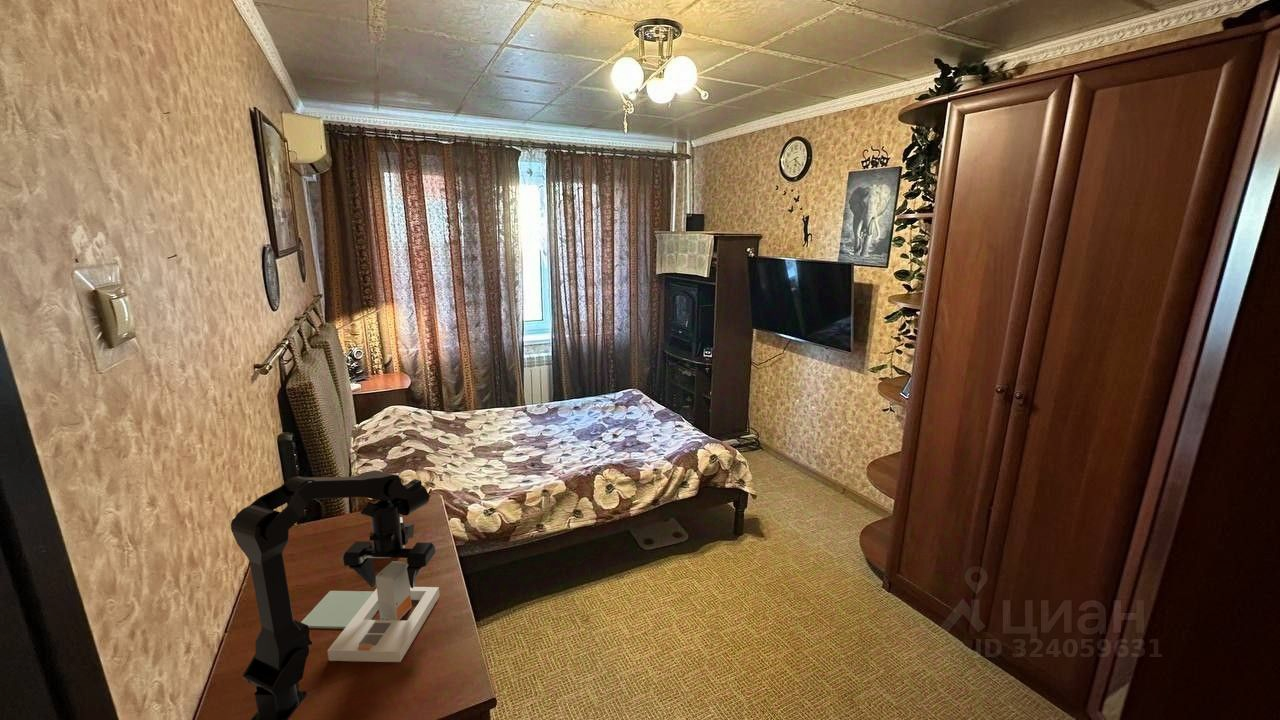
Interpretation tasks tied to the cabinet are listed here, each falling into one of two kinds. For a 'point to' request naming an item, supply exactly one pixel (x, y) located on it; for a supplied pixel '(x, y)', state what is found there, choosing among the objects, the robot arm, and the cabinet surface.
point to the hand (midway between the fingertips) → (393, 586)
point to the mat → (336, 609)
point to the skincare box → (393, 591)
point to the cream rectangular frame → (382, 631)
